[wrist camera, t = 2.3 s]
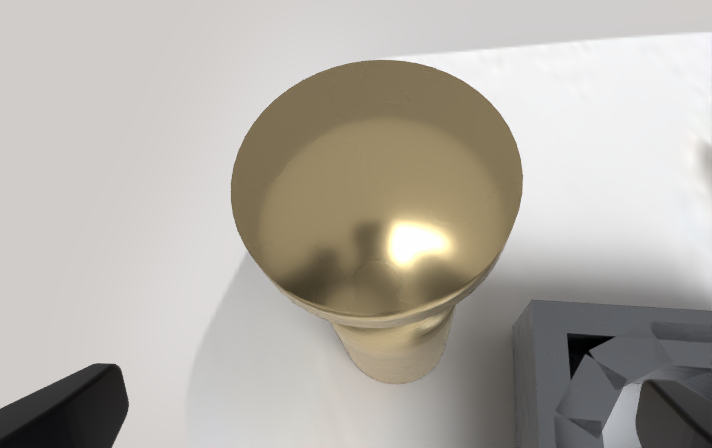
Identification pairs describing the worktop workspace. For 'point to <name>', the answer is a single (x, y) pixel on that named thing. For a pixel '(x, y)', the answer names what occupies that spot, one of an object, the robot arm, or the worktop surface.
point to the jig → (598, 364)
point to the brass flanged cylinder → (379, 205)
